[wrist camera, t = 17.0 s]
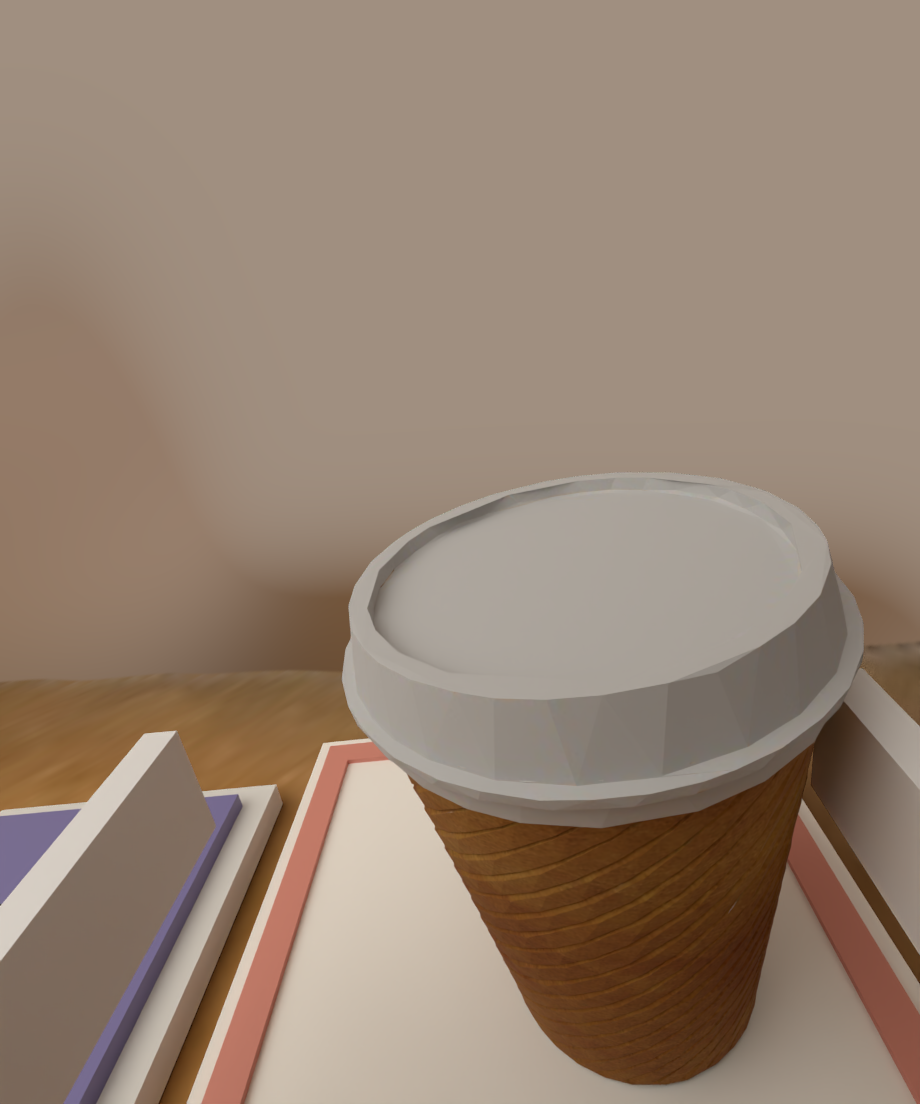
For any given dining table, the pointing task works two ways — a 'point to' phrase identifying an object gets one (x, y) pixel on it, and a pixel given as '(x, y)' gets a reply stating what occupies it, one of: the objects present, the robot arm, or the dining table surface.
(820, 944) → the marked board
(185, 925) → the ink pad
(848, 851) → the dining table surface
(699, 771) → the disposable coffee cup
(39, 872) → the robot arm
